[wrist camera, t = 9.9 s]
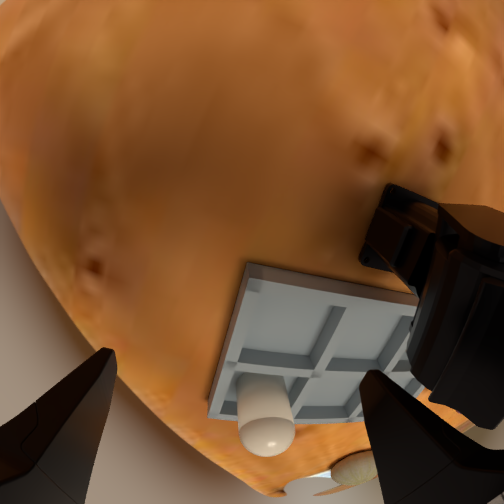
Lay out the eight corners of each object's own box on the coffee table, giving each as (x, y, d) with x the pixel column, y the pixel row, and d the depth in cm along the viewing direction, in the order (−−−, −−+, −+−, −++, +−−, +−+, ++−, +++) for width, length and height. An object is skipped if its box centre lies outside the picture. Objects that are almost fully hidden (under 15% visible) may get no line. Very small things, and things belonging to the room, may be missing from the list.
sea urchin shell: (341, 483, 39) (339, 503, 32) (326, 453, 42) (322, 471, 35) (387, 463, 38) (392, 482, 31) (372, 432, 41) (376, 449, 33)
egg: (291, 370, 25) (308, 440, 18) (275, 399, 27) (287, 464, 20) (242, 364, 24) (248, 440, 17) (231, 395, 26) (234, 464, 19)
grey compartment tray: (463, 303, 25) (474, 314, 23) (393, 404, 31) (399, 417, 29) (247, 262, 21) (249, 277, 19) (207, 400, 27) (207, 417, 25)
